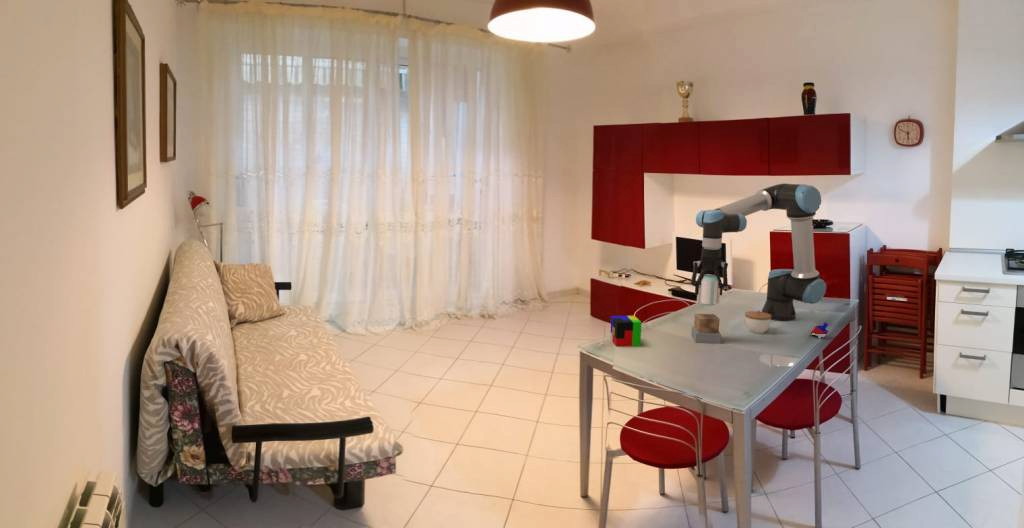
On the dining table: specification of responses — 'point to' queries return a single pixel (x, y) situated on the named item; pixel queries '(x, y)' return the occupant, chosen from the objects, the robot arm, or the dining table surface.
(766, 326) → the lidded jar
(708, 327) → the walnut brick
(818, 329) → the multicoloured piece
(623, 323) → the puzzle toy
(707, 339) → the tower base
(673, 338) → the dining table surface
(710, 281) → the can
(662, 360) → the dining table surface
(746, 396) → the dining table surface
